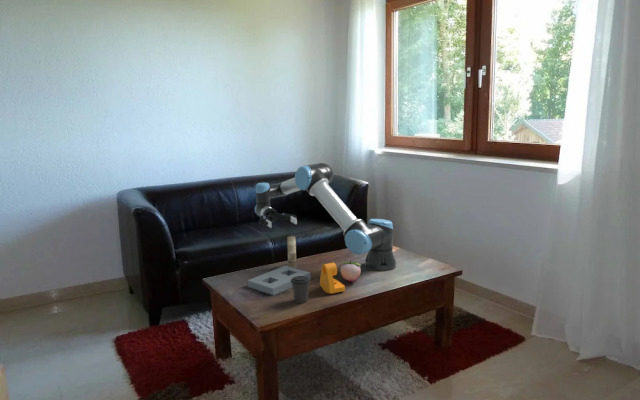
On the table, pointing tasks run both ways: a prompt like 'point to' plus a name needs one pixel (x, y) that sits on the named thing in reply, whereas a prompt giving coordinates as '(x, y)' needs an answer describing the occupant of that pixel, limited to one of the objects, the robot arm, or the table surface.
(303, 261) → the table surface
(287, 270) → the stool seat
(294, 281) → the coffee cup
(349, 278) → the decorative fruit
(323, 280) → the bracket
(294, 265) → the maple leg
